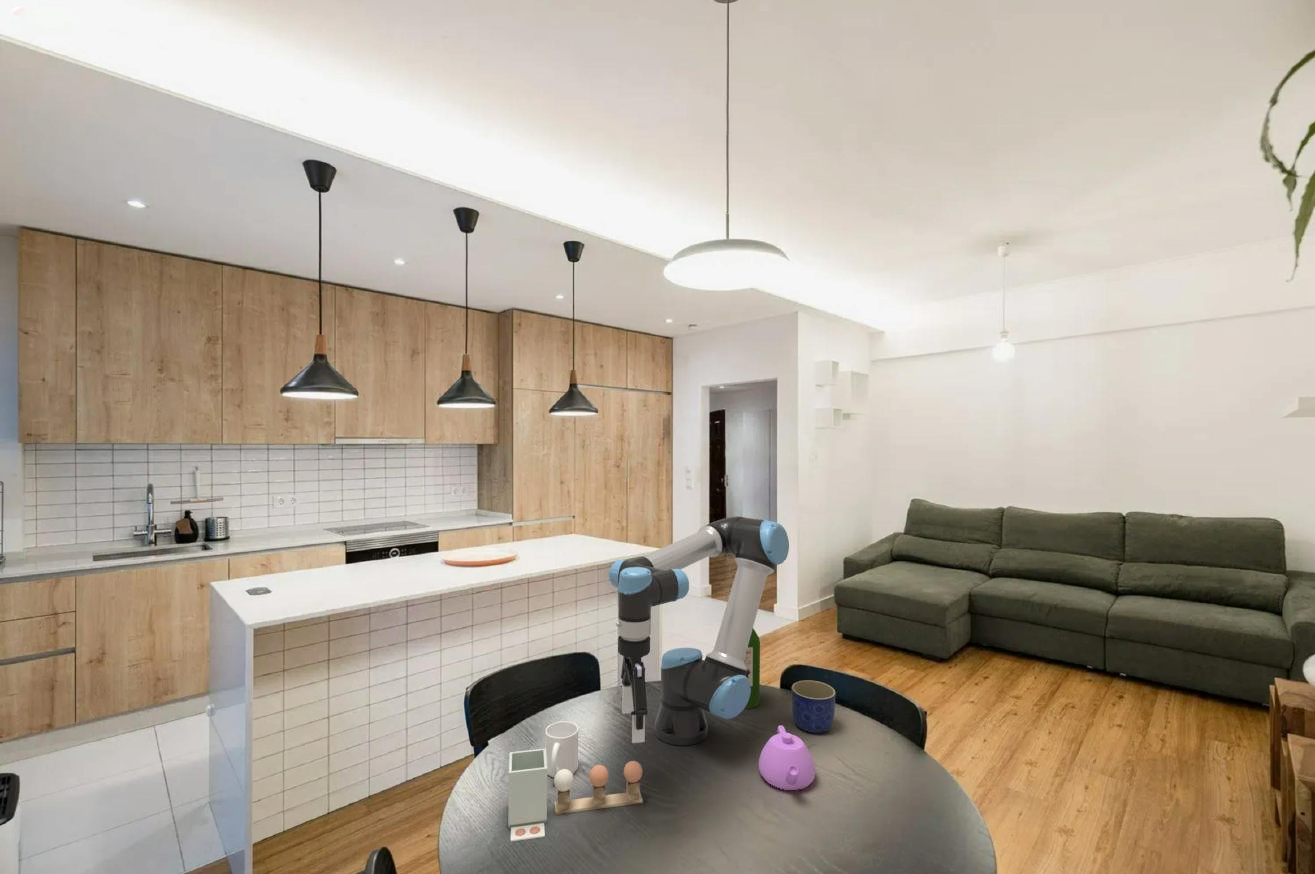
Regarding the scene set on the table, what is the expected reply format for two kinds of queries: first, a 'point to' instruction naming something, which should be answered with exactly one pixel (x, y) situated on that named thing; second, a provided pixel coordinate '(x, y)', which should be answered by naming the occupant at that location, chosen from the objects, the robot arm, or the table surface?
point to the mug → (561, 747)
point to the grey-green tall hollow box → (527, 788)
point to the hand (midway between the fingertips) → (632, 726)
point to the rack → (598, 799)
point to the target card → (527, 832)
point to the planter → (813, 705)
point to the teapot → (786, 762)
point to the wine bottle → (753, 669)
